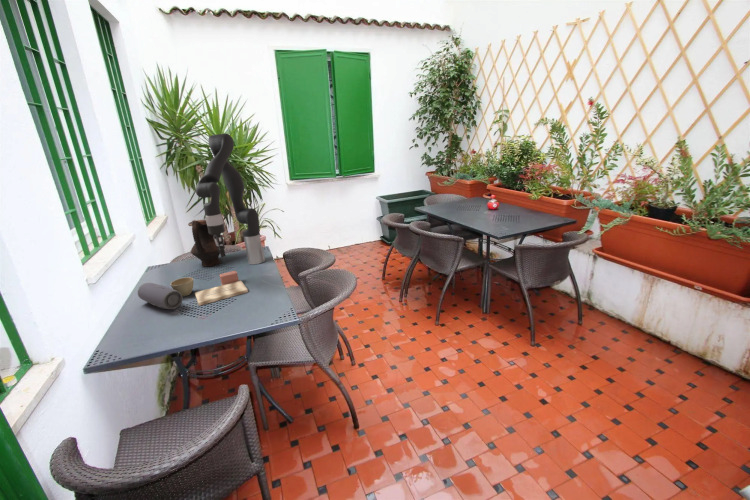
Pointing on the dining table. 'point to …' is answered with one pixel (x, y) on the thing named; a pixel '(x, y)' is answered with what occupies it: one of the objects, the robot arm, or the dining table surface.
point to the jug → (204, 244)
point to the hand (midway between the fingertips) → (221, 254)
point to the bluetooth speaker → (160, 296)
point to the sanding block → (229, 277)
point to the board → (220, 292)
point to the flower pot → (183, 285)
